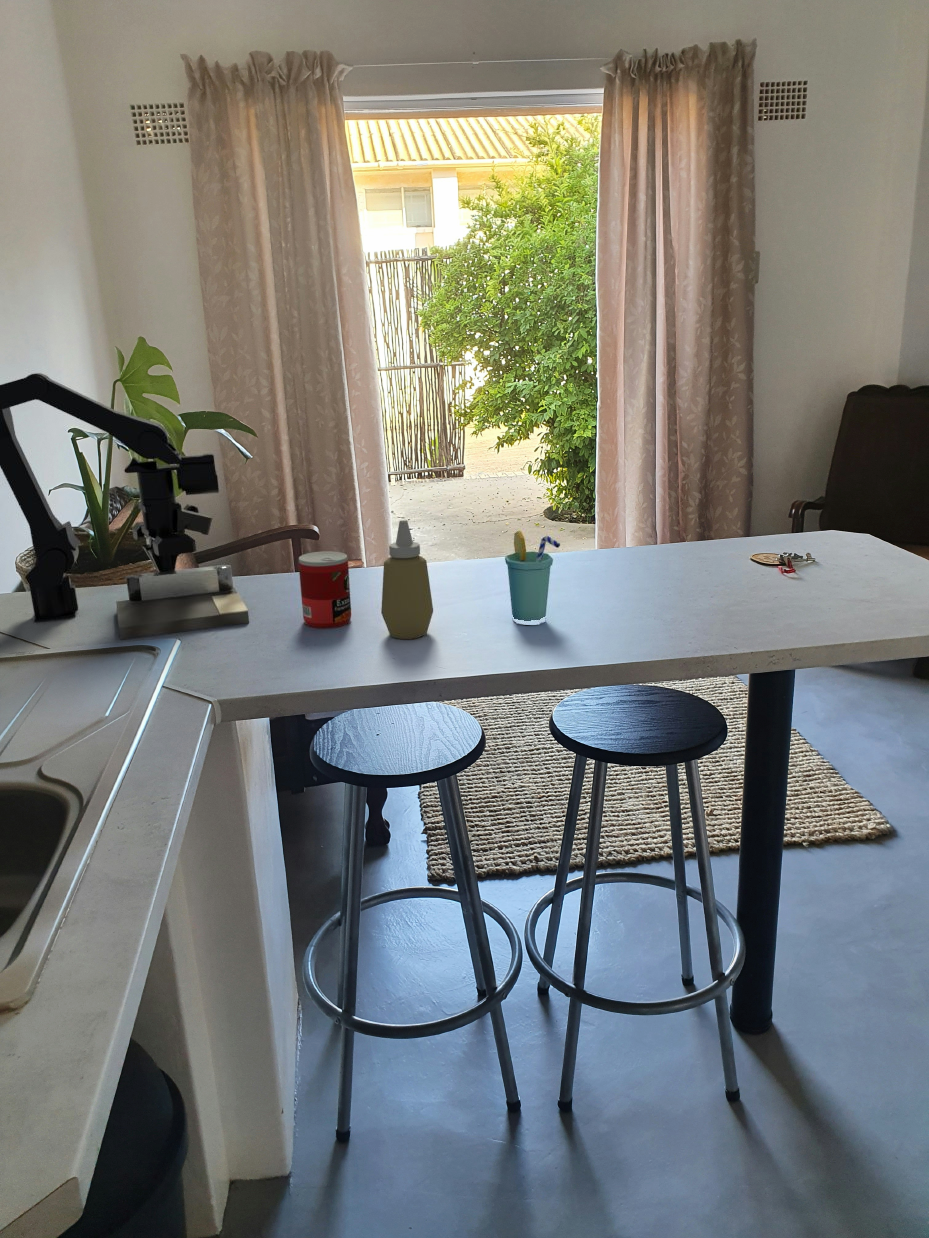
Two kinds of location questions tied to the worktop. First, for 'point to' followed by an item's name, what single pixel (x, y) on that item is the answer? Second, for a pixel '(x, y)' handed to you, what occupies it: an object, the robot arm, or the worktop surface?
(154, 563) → the robot arm
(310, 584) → the canned food
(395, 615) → the squeeze bottle
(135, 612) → the wooden board
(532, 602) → the cup
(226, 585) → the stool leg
